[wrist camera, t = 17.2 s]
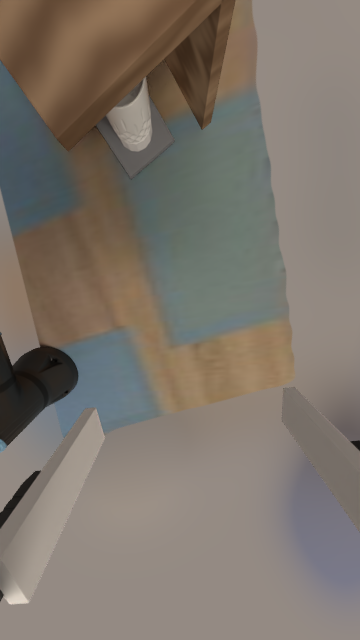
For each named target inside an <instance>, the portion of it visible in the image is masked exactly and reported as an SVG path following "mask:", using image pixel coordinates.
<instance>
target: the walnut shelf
mask: <svg viewBox="0 0 360 640" xmlns="http://www.w3.org/2000/svg"><path fill="white" fill-rule="evenodd" d="M234 5H235V0H0V60H1V61H2V63H3V64H4V66H5V67H6V68H7V70H8V71H9V73H10V74H11V75H12V77H13V78H14V80H15V81H16V82H17V84H18V85H19V87H20V88H21V89H22V91H23V92H24V94H25V95H26V96H27V98H28V99H29V101H30V102H31V103H32V105H33V106H34V108H35V109H36V110H37V112H38V113H39V115H40V116H41V117H42V119H43V120H44V122H45V123H46V124H47V126H48V127H49V129H50V130H51V131H52V133H53V134H54V136H55V137H56V138H57V140H58V141H59V142H60V143H61V144H62V145H63V146H64V147H65V148H66V150H67V151H69V150H70V149H71V148H72V147H73V146H75V145H76V144H77V143H78V142H79V141H80V140H81V139H82V138H83V137H84V136H85V135H86V134H87V133H88V132H89V131H90V130H91V129H92V128H93V127H94V126H95V125H96V124H97V123H98V122H99V121H100V120H101V119H102V118H103V117H104V116H106V115H107V114H108V113H109V112H110V111H111V110H112V109H113V108H114V107H115V106H116V105H117V104H118V103H119V102H120V101H121V100H122V99H123V98H124V97H125V96H126V95H127V94H128V93H129V92H130V91H131V90H132V89H133V88H134V87H135V86H137V85H138V84H139V83H140V82H141V81H142V80H143V79H144V78H145V77H146V76H147V75H148V74H149V73H150V72H151V71H152V70H153V69H154V68H155V67H156V66H157V65H158V64H159V63H160V62H161V61H162V60H163V59H165V61H166V63H167V65H168V67H169V68H170V70H171V72H172V74H173V76H174V78H175V80H176V82H177V83H178V85H179V87H180V89H181V91H182V93H183V95H184V97H185V99H186V100H187V102H188V104H189V106H190V108H191V110H192V112H193V114H194V116H195V117H196V119H197V121H198V123H199V125H200V127H201V129H204V128H205V127H206V126H207V125H208V124H209V123H211V119H212V114H213V109H214V104H215V99H216V94H217V89H218V84H219V79H220V74H221V69H222V64H223V59H224V54H225V50H226V45H227V40H228V35H229V30H230V25H231V20H232V15H233V10H234Z"/></svg>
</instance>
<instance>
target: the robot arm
mask: <svg viewBox="0 0 360 640" xmlns="http://www.w3.org/2000/svg"><path fill="white" fill-rule="evenodd" d="M77 381H78V371H77V368H76V366H75V364H74V362H73V361H72V360H71V359H70V358H69V357H68V356H67V355H66V354H65V353H63V352H61V351H59V350H57V349H54V348H50V347H40V348H36V349H33V350H31V351H29V352H27V353H26V354H24V355H23V356H21V357H20V358H19V359H18V361H17V362H16V363H15V364H14V365H13V366H12V364H11V362H10V359H9V356H8V354H7V351H6V348H5V345H4V343H3V340H2V337H1V332H0V452H2V451H4V450H5V448H6V447H7V446H8V445H9V444H10V443H11V442H12V441H13V440H14V439H15V438H16V437H17V436H18V435H19V434H20V433H21V432H22V431H23V429H25V428H26V427H27V425H29V424H30V422H32V420H33V419H34V418H35V417H36V416H37V415H38V414H39V413H40V412H41V411H42V410H43V409H44V408H45V407H47V406H49V405H51V404H53V403H55V402H57V401H58V400H60V399H62V398H64V397H65V396H67V395H68V394H69V393H70V392H71V391H72V390H73V389H74V387H75V386H76V384H77ZM282 422H283V423H284V425H285V426H286V427H287V429H288V430H289V432H290V433H291V435H292V436H293V437H294V439H295V440H296V442H297V443H298V444H299V446H300V447H301V449H302V450H303V452H304V453H305V455H306V456H307V458H308V459H309V460H310V462H311V463H312V465H313V466H314V468H315V469H316V470H317V472H318V473H319V475H320V476H321V478H322V479H323V480H324V482H325V483H326V485H327V486H328V487H329V489H330V491H331V492H332V493H333V495H334V496H335V498H336V499H337V500H338V502H339V503H340V505H341V506H342V507H343V509H344V511H345V512H346V513H347V515H348V516H349V518H350V519H351V520H352V522H353V523H354V525H355V526H356V528H357V529H358V531H359V532H360V441H351V442H350V441H349V440H348V439H347V438H346V437H345V436H344V435H343V434H342V433H341V432H340V431H339V430H338V429H337V428H336V427H335V426H333V424H332V423H331V422H330V421H329V420H328V419H326V418H325V417H324V416H323V415H322V414H321V413H320V412H319V411H318V410H317V409H316V408H315V407H314V406H313V405H312V404H311V403H310V402H309V401H308V400H307V399H306V398H305V397H304V396H303V395H302V394H301V393H300V392H299V391H298V390H297V389H296V388H295V387H291V388H284V389H283V407H282ZM104 439H105V437H104V433H103V430H102V427H101V423H100V420H99V416H98V413H97V410H96V408H87V409H85V410H84V411H83V413H82V414H81V415H80V417H79V418H78V420H77V421H76V423H75V424H74V425H73V427H72V428H71V430H70V431H69V432H68V434H67V435H66V437H65V438H64V440H63V441H62V443H61V444H60V445H59V447H58V448H57V449H56V451H55V452H54V454H53V455H52V457H51V458H50V459H49V461H48V462H47V464H46V465H45V466H44V468H43V470H42V471H35V472H34V473H33V474H32V475H31V476H30V477H29V478H28V479H27V480H26V481H25V482H24V483H23V484H22V485H21V486H20V488H19V489H18V491H17V492H16V493H15V494H14V496H13V498H12V499H11V500H10V501H9V502H8V504H7V505H6V506H5V508H4V510H3V511H2V512H1V513H0V601H1V599H2V598H3V596H4V597H5V599H6V600H7V601H8V603H9V604H21V603H29V602H30V600H31V598H32V596H33V593H34V591H35V589H36V587H37V585H38V583H39V581H40V578H41V576H42V574H43V572H44V570H45V567H46V565H47V563H48V561H49V559H50V556H51V554H52V552H53V550H54V548H55V546H56V543H57V541H58V539H59V537H60V535H61V533H62V530H63V528H64V526H65V524H66V522H67V520H68V517H69V515H70V513H71V511H72V509H73V506H74V504H75V502H76V500H77V498H78V495H79V493H80V491H81V489H82V487H83V485H84V482H85V480H86V478H87V476H88V474H89V471H90V469H91V467H92V465H93V463H94V461H95V458H96V456H97V454H98V452H99V450H100V448H101V445H102V443H103V441H104Z"/></svg>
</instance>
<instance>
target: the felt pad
mask: <svg viewBox="0 0 360 640" xmlns="http://www.w3.org/2000/svg"><path fill="white" fill-rule="evenodd" d="M149 102H150V111H151V125H152V136H151V141H150V143H149V144H148V145H147V147H146V148H145V149H143V150H141V151H139V152H137V151H130V150H129V149H127V148H126V147H124V146H123V144H122V143H121V141H120V139H119V138H118V136H117V134H116V133H115V131H114V129H113V127H112V126H111V124H110V122H109V120H108V118H107V116H104V117H103V118H102V119H101V120H100V121H99V122H98V123H97V124H96V126H97V128H98V130H99V131H100V133H101V134H102V136H103V137H104V139H105V140H106V142H107V143H108V145H109V146H110V148H111V149H112V151H113V152H114V154H115V155H116V157H117V159H118V160H119V162H120V163H121V165H122V166H123V168H124V169H125V171H126V172H127V174H128V175H129V177H130V178H131V179H133V178H134V177H135V176H136V175H137V174H138V173H139V172H141V171H142V170H143V169H144V168H145V167H146V166H148V165H149V164H150V163H151V162H152V161H153V160H154V159H156V158H157V157H158V156H159V155H160V154H161V153H163V152H164V151H165V150H166V149H167V148H168V147H169V146H171V145H172V144H173V143H174V142H175V140H174V138H173V136H172V134H171V133H170V131H169V129H168V127H167V126H166V124H165V122H164V120H163V119H162V117H161V115H160V113H159V112H158V110H157V108H156V106H155V105H154V103H153V101H152V99H151V98H150V96H149Z"/></svg>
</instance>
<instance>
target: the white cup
mask: <svg viewBox="0 0 360 640" xmlns="http://www.w3.org/2000/svg"><path fill="white" fill-rule="evenodd" d="M106 116H107V118H108V120H109V122H110V124H111V126H112V127H113V129H114V131H115V133H116V134H117V136H118V138H119V139H120V141H121V143H122V144H123V146H124V147H126V148H127V149H129V150H130V151H137V152H139V151H141V150H143V149H145V148H146V147H147V145H148V144H149V143H150V141H151V136H152V125H151V111H150V102H149V94H148V86H147V79H146V77H145V78H144V79H143V80H142V81H141V82H140V83H139V84H138V85H137V86H135V87H134V88H133V89H132V90H131V91H130V92H129V93H128V94H127V95H126V96H125V97H124V98H123V99H122V100H121V101H120V102H119V103H118V104H117V105H116V106H115V107H114V108H113V109H112V110H111V111H110V112H109V113H108V114H107V115H106Z"/></svg>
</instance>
